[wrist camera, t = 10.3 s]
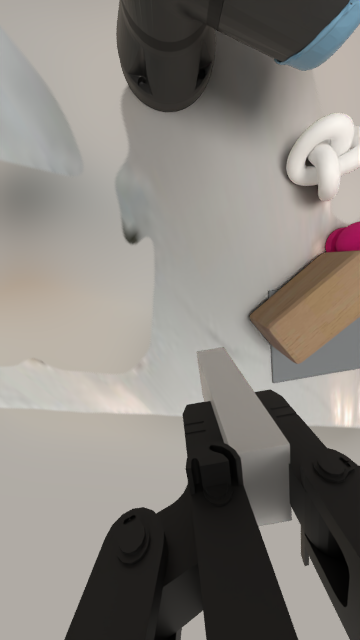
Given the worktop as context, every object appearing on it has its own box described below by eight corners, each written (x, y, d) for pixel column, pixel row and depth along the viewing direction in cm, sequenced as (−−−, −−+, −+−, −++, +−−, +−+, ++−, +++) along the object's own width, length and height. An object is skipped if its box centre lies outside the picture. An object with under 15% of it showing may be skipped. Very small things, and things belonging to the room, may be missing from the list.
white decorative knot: (325, 114, 39) (371, 71, 30) (355, 174, 42) (404, 151, 33) (273, 159, 40) (302, 131, 32) (305, 214, 43) (340, 202, 34)
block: (272, 347, 49) (346, 286, 47) (298, 368, 40) (393, 293, 37) (246, 315, 47) (322, 250, 44) (267, 329, 37) (366, 247, 35)
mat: (268, 291, 46) (269, 291, 46) (368, 274, 47) (370, 275, 46) (272, 381, 52) (273, 383, 52) (361, 366, 53) (363, 367, 52)
